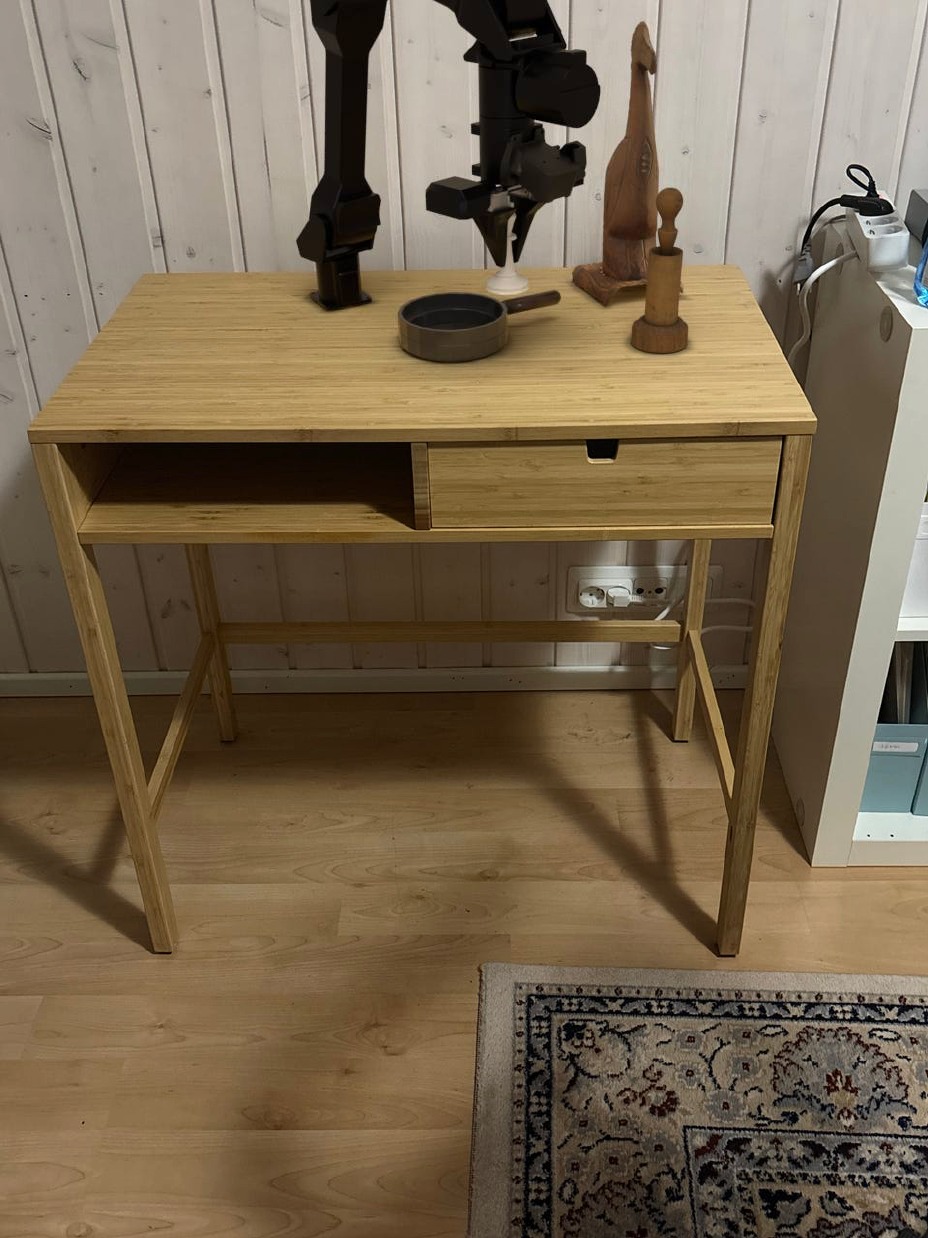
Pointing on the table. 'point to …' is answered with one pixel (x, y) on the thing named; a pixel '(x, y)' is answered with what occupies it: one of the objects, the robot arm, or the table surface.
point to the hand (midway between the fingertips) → (507, 264)
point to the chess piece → (508, 269)
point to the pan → (452, 326)
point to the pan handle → (530, 302)
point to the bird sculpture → (629, 188)
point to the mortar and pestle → (663, 285)
